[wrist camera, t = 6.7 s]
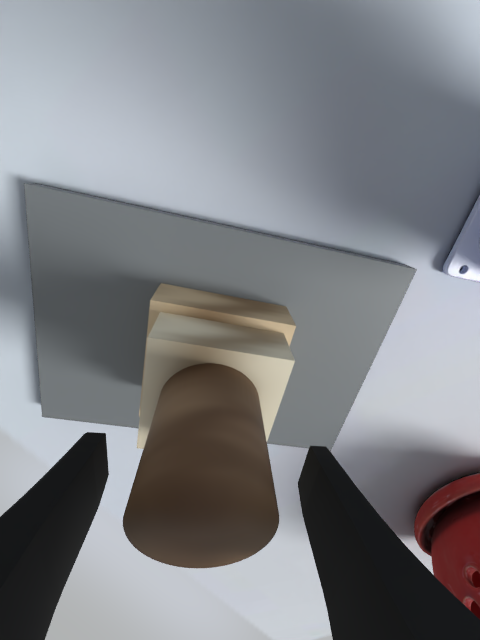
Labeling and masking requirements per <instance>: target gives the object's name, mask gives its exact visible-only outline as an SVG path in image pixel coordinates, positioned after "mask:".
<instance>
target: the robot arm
mask: <svg viewBox="0 0 480 640" xmlns="http://www.w3.org/2000/svg"><path fill="white" fill-rule="evenodd" d="M461 266H463V269H462V270H461V271H460V272H459V269H460V268H461ZM443 271H444V273H445V274H447V275H450V276H453V277H458V278H462V279H467V280H471V281H476V282H480V195H479V197H478V199H477V201H476V203H475V205H474V207H473V209H472V211H471V213H470V215H469V217H468V219H467V221H466V223H465V225H464V227H463V229H462V231H461V233H460V234H459V236H458V238H457V240H456V242H455V244H454V246H453V248H452V250H451V252H450V254H449V256H448V258H447V260H446V262H445V264H444V266H443ZM108 475H109V473H108V459H107V446H106V433H91V432H87V433H85V434H84V435H83V436H82V437H81V438H80V439H79V440H78V441H77V442H76V443H75V444H74V445H73V447H72V448H71V449H70V450H69V451H68V452H67V453H66V454H65V455H64V456H63V457H62V458H61V459H60V460H59V461H58V462H57V463H56V464H55V465H54V466H53V467H52V468H51V469H50V470H49V471H48V472H47V473H46V474H45V475H44V476H43V477H42V478H41V479H40V480H39V481H38V482H37V483H36V484H35V485H34V486H33V487H32V488H31V489H30V490H29V491H28V492H27V493H26V494H25V495H24V496H23V497H22V498H20V499H19V500H18V501H17V502H16V503H15V504H14V505H13V506H12V507H11V508H9V509H8V510H7V511H6V512H5V513H4V514H3V515H2V516H1V517H0V640H45V637H46V634H47V631H48V628H49V625H50V623H51V620H52V617H53V614H54V611H55V609H56V606H57V603H58V601H59V598H60V596H61V593H62V591H63V588H64V586H65V584H66V581H67V579H68V577H69V575H70V572H71V570H72V568H73V565H74V563H75V561H76V558H77V556H78V554H79V551H80V549H81V547H82V544H83V542H84V540H85V538H86V535H87V533H88V531H89V528H90V526H91V524H92V521H93V519H94V516H95V514H96V512H97V509H98V507H99V504H100V501H101V498H102V494H103V491H104V488H105V485H106V482H107V478H108ZM298 488H299V495H300V501H301V507H302V513H303V518H304V522H305V525H306V529H307V533H308V537H309V541H310V544H311V548H312V552H313V556H314V559H315V563H316V567H317V571H318V574H319V578H320V582H321V586H322V589H323V593H324V598H325V602H326V606H327V611H328V616H329V621H330V626H331V632H332V637H333V640H480V619H479V618H478V617H476V616H475V615H474V614H473V613H472V612H471V611H470V610H469V609H468V608H467V607H466V606H465V605H464V604H463V603H462V602H461V601H460V600H459V599H457V598H456V597H455V596H454V595H453V594H452V593H451V592H450V591H449V590H448V589H447V588H446V587H445V586H444V585H443V584H442V583H441V582H440V581H439V580H438V579H437V578H436V577H435V576H434V575H433V574H432V573H431V572H430V571H429V570H428V569H427V568H426V567H425V566H424V565H423V564H422V563H421V562H420V561H419V560H418V558H417V557H416V556H415V555H414V554H413V553H412V552H411V551H410V550H409V549H408V548H407V547H406V546H405V545H404V543H403V542H402V541H401V540H400V539H399V538H398V537H397V536H396V534H395V533H394V532H393V531H392V530H391V529H390V527H389V526H388V525H387V524H386V523H385V522H384V520H383V519H382V518H381V517H380V516H379V514H378V513H377V512H376V511H375V509H374V508H373V507H372V506H371V504H370V503H369V502H368V501H367V499H366V498H365V497H364V496H363V494H362V493H361V492H360V491H359V489H358V488H357V487H356V485H355V484H354V483H353V481H352V480H351V479H350V478H349V476H348V475H347V474H346V472H345V471H344V470H343V468H342V467H341V466H340V464H339V463H338V461H337V460H336V459H335V457H334V456H333V455H332V453H331V452H330V451H329V449H328V448H327V447H326V446H310V447H309V451H308V454H307V457H306V460H305V463H304V466H303V469H302V472H301V475H300V478H299V481H298Z"/></svg>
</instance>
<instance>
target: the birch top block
mask: <svg viewBox="0 0 480 640" xmlns="http://www.w3.org/2000/svg"><path fill="white" fill-rule="evenodd" d="M205 363H215V364H222V365H226V366H229V367H232V368H234V369H236V370H238V371H240V372H242V373H243V374H244V375H246V376H247V377H248V378H249V379H250V380H251V381H252V383H253V384H254V386H255V387H256V389H257V392H258V395H259V400H260V406H261V412H262V418H263V424H264V430H265V436H266V442H267V440H268V438H269V435H270V432H271V429H272V426H273V423H274V420H275V417H276V415H277V412H278V409H279V406H280V403H281V400H282V397H283V394H284V391H285V389H286V386H287V383H288V380H289V377H290V374H291V371H292V368H293V365H294V363H295V360H294V357H293V355H292V352H291V350H290V347H289V345H288V342H287V340H286V338H285V335H284V333H280V332H274V331H268V330H263V329H257V328H251V327H245V326H240V325H234V324H228V323H222V322H217V321H211V320H205V319H199V318H194V317H188V316H182V315H176V314H170V313H165V312H160V313H159V315H158V317H157V319H156V321H155V324H154V326H153V328H152V330H151V332H150V334H149V336H148V339H147V350H146V360H145V370H144V380H143V390H142V400H141V410H140V420H139V430H138V440H137V448H140V449H144V446H145V443H146V440H147V436H148V433H149V430H150V426H151V423H152V420H153V416H154V413H155V410H156V406H157V403H158V400H159V396H160V393H161V390H162V388H163V386H164V385H165V383H166V382H167V381H168V380H169V379H170V377H172V376H173V375H174V374H175V373H177V372H179V371H180V370H182V369H184V368H187V367H189V366H193V365H197V364H205Z"/></svg>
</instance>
